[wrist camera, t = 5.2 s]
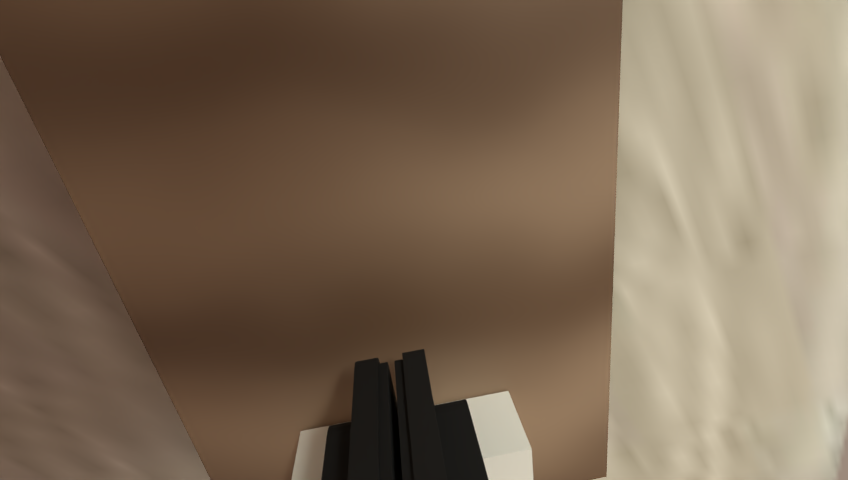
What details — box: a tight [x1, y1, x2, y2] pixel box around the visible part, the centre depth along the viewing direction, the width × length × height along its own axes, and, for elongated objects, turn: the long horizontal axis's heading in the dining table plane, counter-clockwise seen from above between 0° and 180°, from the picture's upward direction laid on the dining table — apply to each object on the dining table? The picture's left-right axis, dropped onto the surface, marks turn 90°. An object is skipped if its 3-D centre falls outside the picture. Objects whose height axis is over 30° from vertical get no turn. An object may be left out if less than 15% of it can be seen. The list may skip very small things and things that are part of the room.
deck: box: [0, 0, 623, 480], centre depth 12 cm, size 16×12×2 cm
